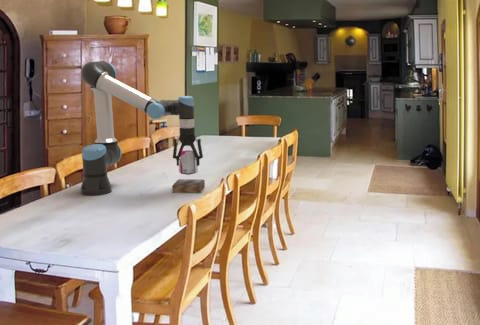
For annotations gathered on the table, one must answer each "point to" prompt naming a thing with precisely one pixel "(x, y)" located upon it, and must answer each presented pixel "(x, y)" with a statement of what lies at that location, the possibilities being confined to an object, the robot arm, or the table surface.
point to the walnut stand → (188, 186)
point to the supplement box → (187, 162)
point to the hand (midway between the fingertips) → (188, 172)
